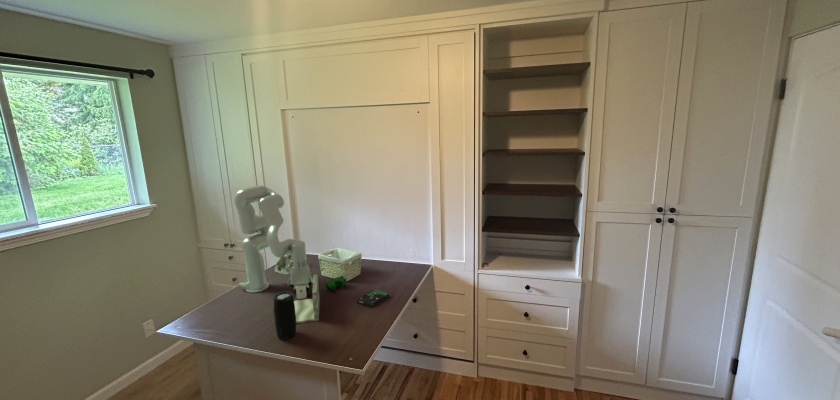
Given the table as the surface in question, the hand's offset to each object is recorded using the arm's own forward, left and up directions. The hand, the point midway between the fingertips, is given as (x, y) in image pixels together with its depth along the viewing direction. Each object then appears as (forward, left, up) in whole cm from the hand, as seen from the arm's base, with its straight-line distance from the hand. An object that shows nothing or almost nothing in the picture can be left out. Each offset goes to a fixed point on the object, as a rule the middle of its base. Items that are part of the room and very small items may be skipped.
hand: (302, 293), depth 188 cm
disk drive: (+38, -17, -2) cm, 42 cm away
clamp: (+19, +2, -1) cm, 19 cm away
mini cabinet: (0, 0, -1) cm, 1 cm away
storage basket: (+22, +22, -1) cm, 32 cm away
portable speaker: (-4, -39, -1) cm, 39 cm away
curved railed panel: (0, -19, -1) cm, 19 cm away
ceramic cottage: (-12, +41, -1) cm, 43 cm away
